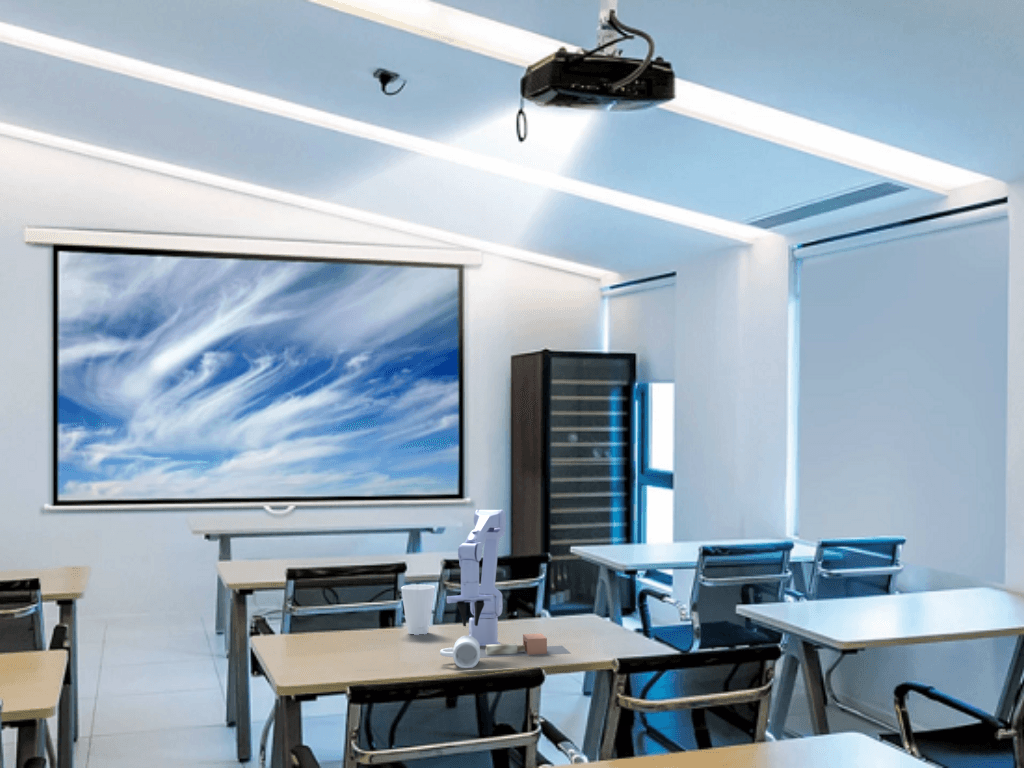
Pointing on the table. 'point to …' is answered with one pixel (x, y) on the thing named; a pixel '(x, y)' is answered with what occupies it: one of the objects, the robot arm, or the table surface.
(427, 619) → the cup
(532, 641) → the salmon orange block
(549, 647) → the felt mat
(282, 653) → the table surface
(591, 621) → the table surface
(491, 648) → the cream rectangular block
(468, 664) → the mug
